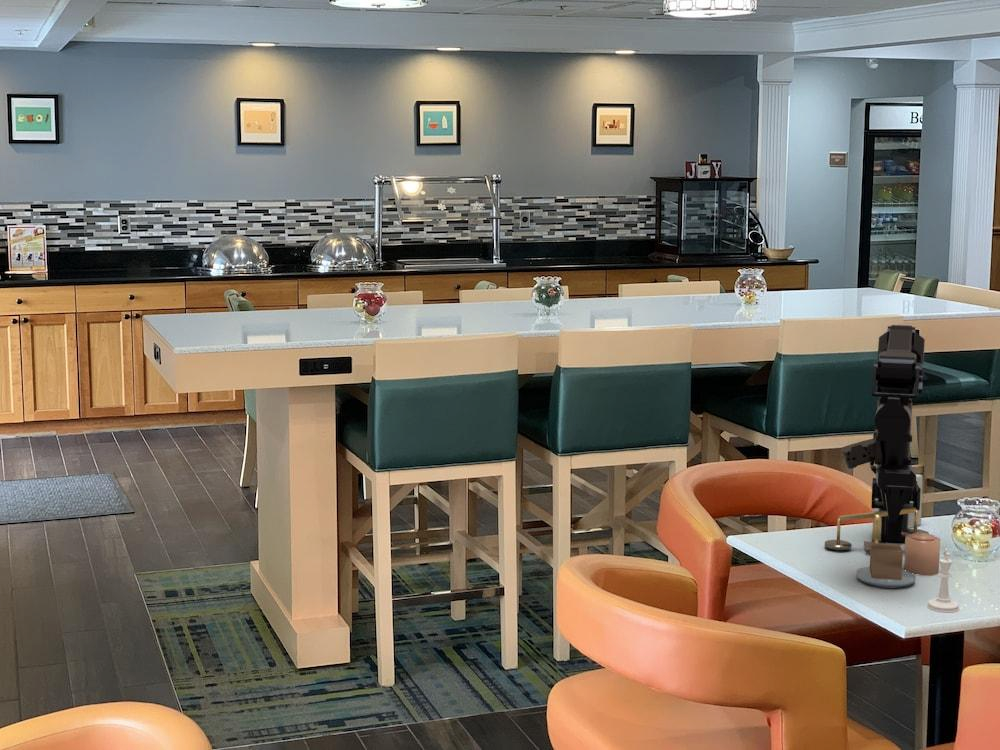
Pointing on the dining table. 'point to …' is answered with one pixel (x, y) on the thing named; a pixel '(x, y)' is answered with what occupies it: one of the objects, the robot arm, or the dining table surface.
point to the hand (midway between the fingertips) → (889, 514)
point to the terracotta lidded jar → (922, 554)
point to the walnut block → (886, 561)
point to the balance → (876, 529)
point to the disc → (886, 583)
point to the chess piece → (944, 588)
